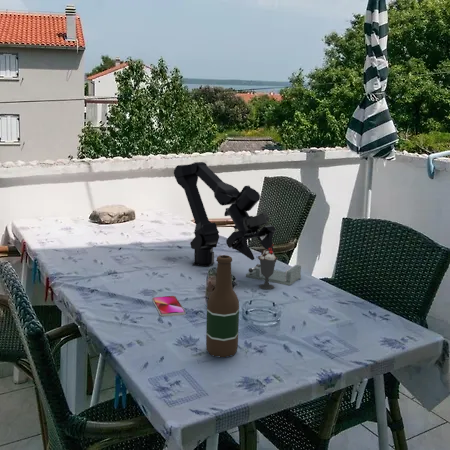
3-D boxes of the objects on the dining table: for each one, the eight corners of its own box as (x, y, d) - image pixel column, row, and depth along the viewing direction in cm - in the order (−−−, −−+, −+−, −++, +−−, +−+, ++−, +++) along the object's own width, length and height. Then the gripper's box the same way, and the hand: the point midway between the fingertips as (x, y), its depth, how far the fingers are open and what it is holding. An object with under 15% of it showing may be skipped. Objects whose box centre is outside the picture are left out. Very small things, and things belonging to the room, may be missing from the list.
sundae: (275, 291, 178) (277, 246, 175) (255, 289, 179) (257, 244, 176) (277, 284, 184) (280, 241, 181) (258, 282, 186) (259, 240, 182)
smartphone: (175, 295, 170) (186, 312, 156) (175, 298, 171) (186, 315, 157) (151, 297, 168) (160, 314, 154) (151, 300, 168) (160, 317, 154)
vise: (245, 276, 192) (246, 264, 191) (258, 269, 200) (258, 257, 199) (289, 285, 184) (290, 272, 183) (300, 277, 193) (301, 265, 192)
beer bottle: (205, 344, 138) (207, 252, 132) (236, 344, 138) (239, 252, 133) (206, 358, 130) (208, 261, 125) (239, 358, 131) (242, 261, 125)
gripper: (232, 207, 176) (256, 248, 170) (273, 202, 188) (296, 239, 182) (216, 227, 183) (238, 267, 177) (256, 220, 195) (277, 257, 189)
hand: (263, 257), depth 181 cm, fingers open, 9 cm apart
